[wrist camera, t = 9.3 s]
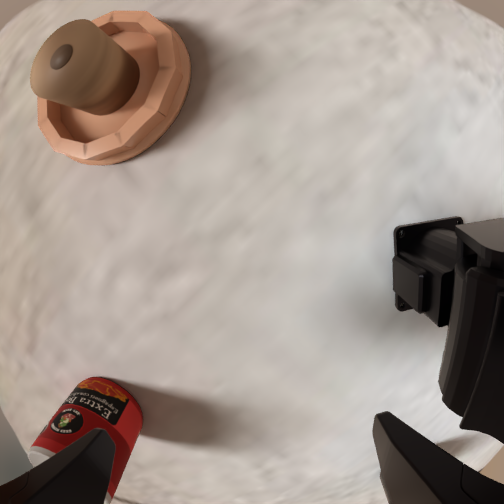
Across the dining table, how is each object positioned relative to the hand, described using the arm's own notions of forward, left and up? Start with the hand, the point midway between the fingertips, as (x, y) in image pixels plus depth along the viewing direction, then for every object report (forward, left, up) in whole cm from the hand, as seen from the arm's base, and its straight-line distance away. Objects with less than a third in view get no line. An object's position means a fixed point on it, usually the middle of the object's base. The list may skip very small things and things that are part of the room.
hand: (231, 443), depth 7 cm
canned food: (+16, +10, -13) cm, 23 cm away
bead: (+7, -17, -12) cm, 22 cm away
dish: (+7, -17, -13) cm, 22 cm away
